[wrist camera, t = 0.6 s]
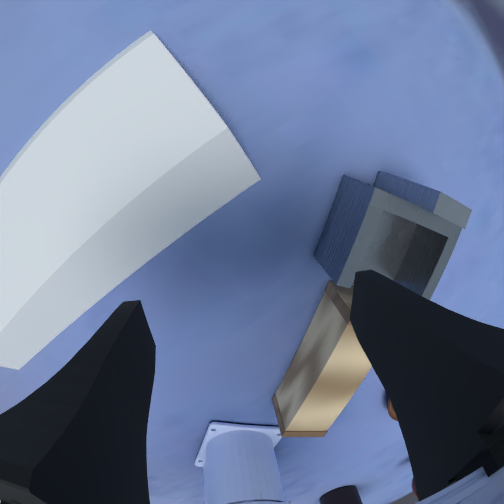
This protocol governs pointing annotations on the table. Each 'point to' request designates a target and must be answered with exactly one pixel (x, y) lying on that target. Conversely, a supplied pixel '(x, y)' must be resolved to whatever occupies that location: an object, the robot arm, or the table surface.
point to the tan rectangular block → (322, 369)
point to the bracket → (390, 232)
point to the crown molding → (107, 191)
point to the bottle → (342, 496)
